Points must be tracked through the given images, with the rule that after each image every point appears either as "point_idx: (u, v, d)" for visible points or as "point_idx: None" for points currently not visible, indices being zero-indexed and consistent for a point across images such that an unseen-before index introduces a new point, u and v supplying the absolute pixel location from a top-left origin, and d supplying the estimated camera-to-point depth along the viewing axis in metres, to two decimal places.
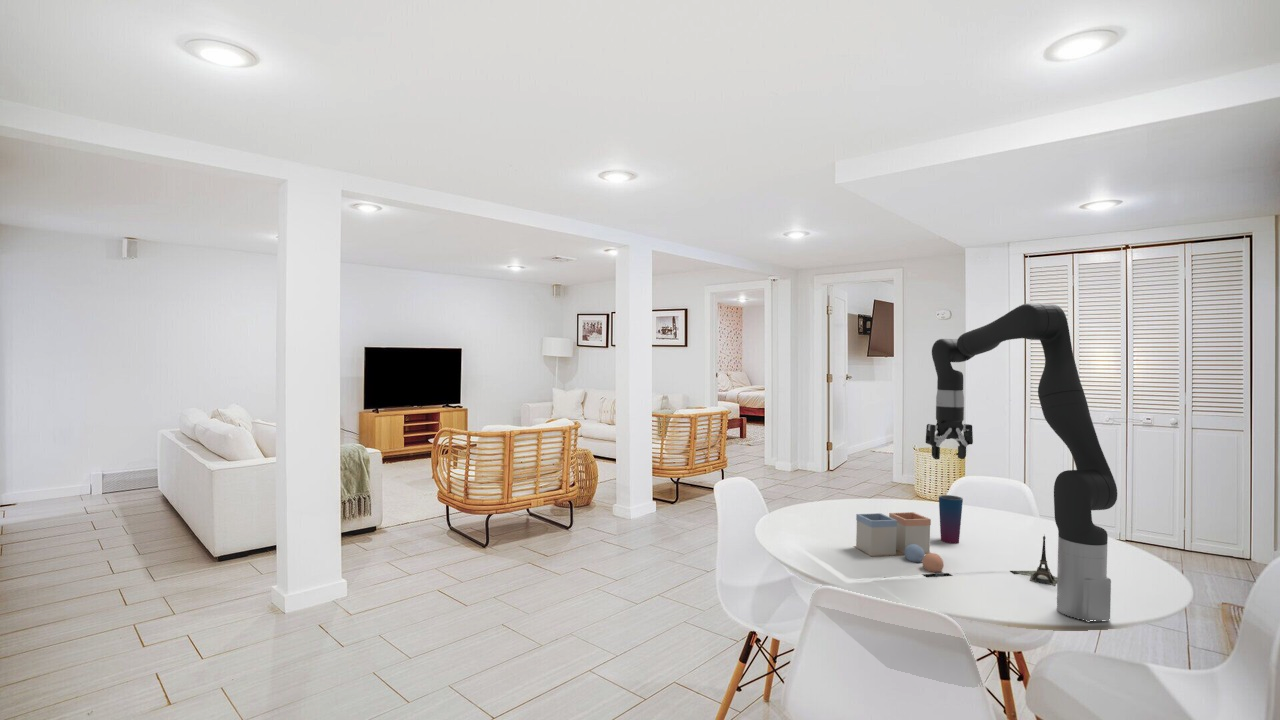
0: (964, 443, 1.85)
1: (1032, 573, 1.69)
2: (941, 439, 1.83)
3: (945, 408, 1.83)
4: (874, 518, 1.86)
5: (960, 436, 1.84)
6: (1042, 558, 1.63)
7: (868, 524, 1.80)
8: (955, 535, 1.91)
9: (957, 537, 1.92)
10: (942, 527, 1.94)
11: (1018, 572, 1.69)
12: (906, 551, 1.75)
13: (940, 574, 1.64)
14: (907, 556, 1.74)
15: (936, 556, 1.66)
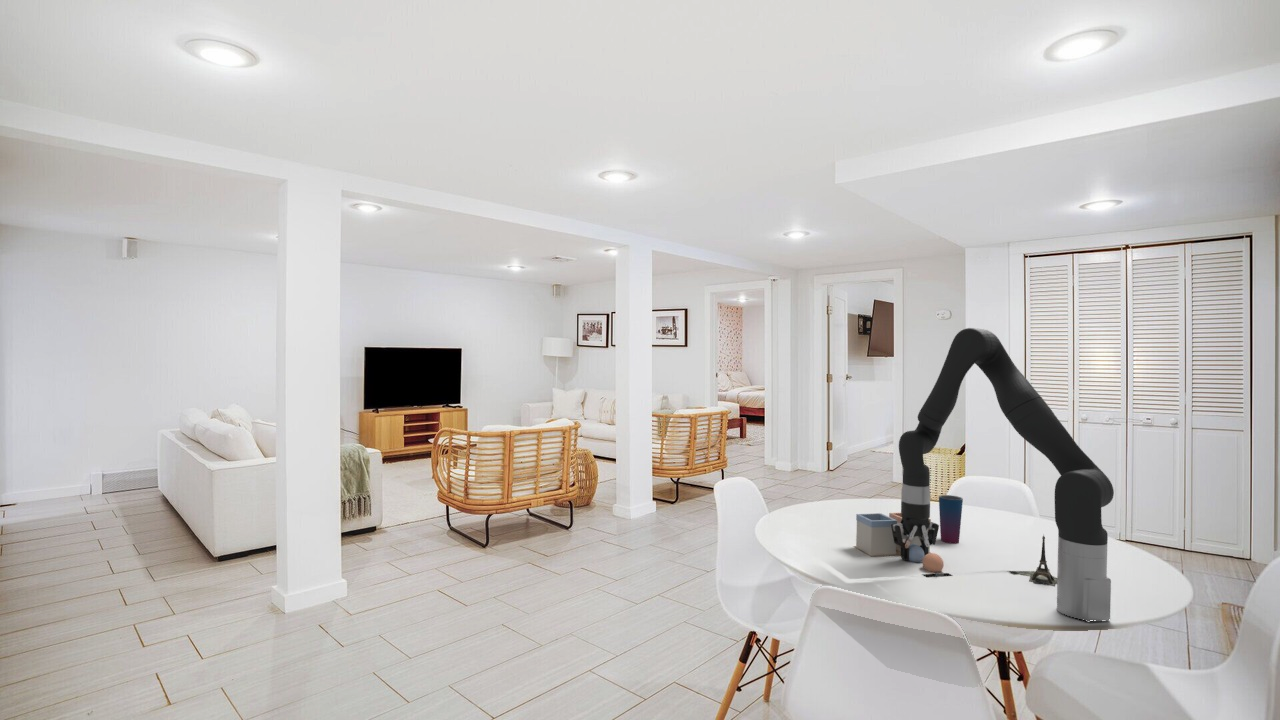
0: (926, 544, 1.74)
1: (1032, 573, 1.68)
2: (909, 539, 1.73)
3: (910, 505, 1.72)
4: (874, 518, 1.86)
5: (924, 535, 1.74)
6: (1042, 558, 1.63)
7: (868, 524, 1.80)
8: (955, 535, 1.91)
9: (957, 537, 1.92)
10: (942, 527, 1.94)
11: (1018, 572, 1.69)
12: None
13: (940, 574, 1.64)
14: None
15: (936, 556, 1.66)
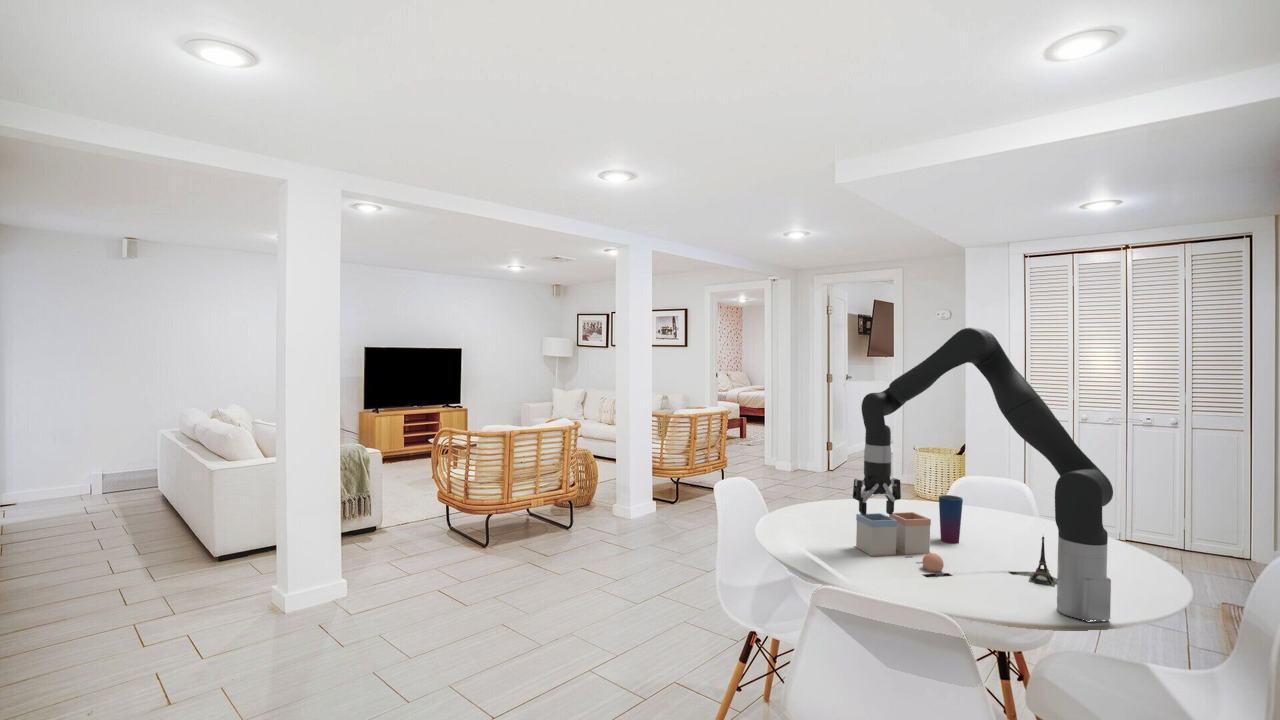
0: (892, 498, 1.82)
1: (1031, 574, 1.68)
2: (868, 495, 1.80)
3: (872, 463, 1.80)
4: (874, 518, 1.86)
5: (887, 491, 1.81)
6: (1041, 559, 1.63)
7: (868, 524, 1.80)
8: (955, 535, 1.91)
9: (957, 537, 1.92)
10: (942, 527, 1.94)
11: (1017, 573, 1.69)
12: None
13: (940, 574, 1.64)
14: None
15: (936, 556, 1.66)
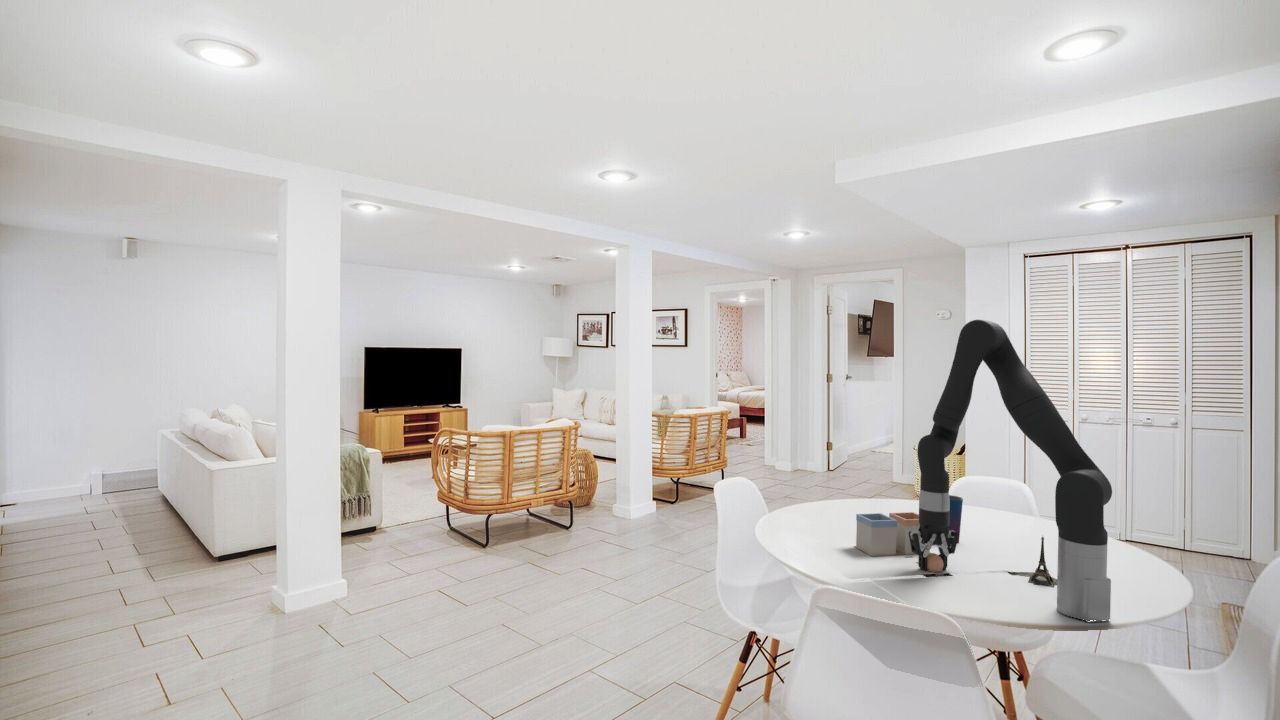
0: (945, 552, 1.67)
1: (1031, 574, 1.68)
2: (927, 548, 1.65)
3: (929, 512, 1.64)
4: (874, 518, 1.86)
5: (943, 543, 1.66)
6: (1041, 559, 1.62)
7: (868, 524, 1.80)
8: None
9: None
10: None
11: (1017, 573, 1.68)
12: None
13: (940, 574, 1.64)
14: None
15: (936, 556, 1.66)
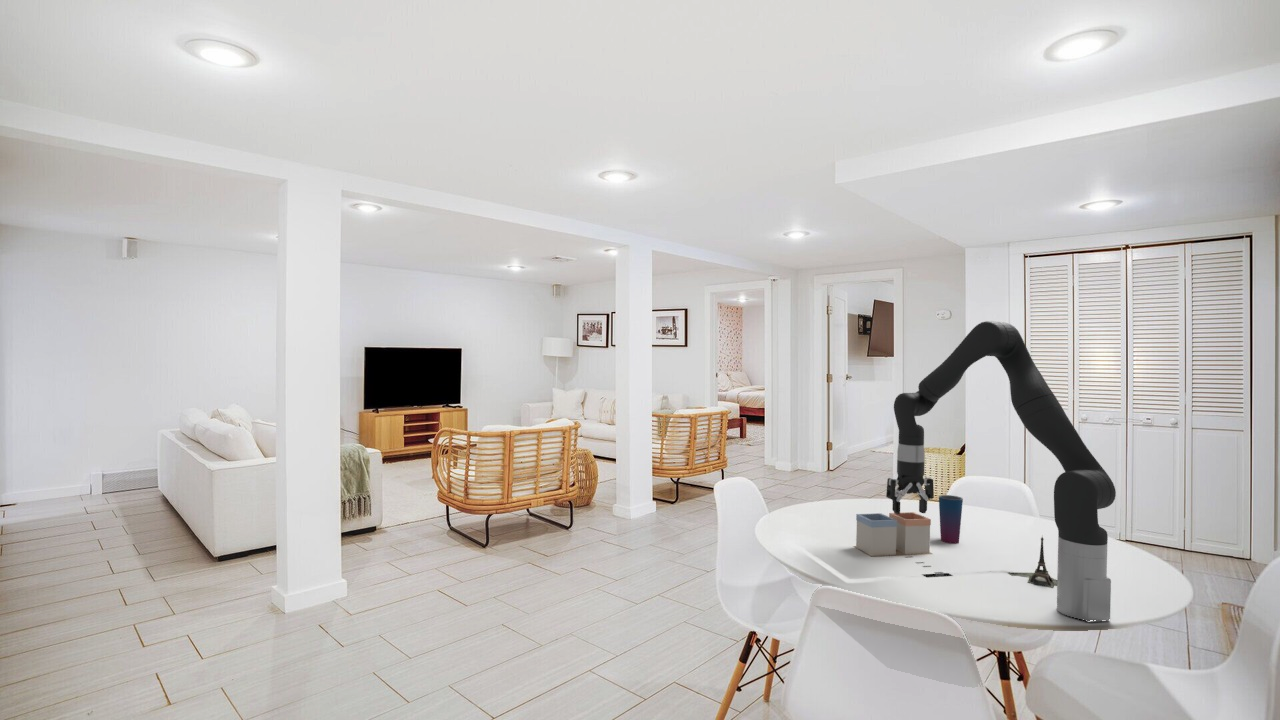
0: (925, 497, 1.84)
1: (1031, 575, 1.67)
2: (901, 494, 1.83)
3: (905, 463, 1.82)
4: (874, 518, 1.86)
5: (921, 491, 1.84)
6: (1040, 560, 1.62)
7: (868, 524, 1.80)
8: (955, 535, 1.91)
9: (957, 537, 1.92)
10: (942, 527, 1.94)
11: (1016, 574, 1.68)
12: None
13: (940, 574, 1.64)
14: None
15: None
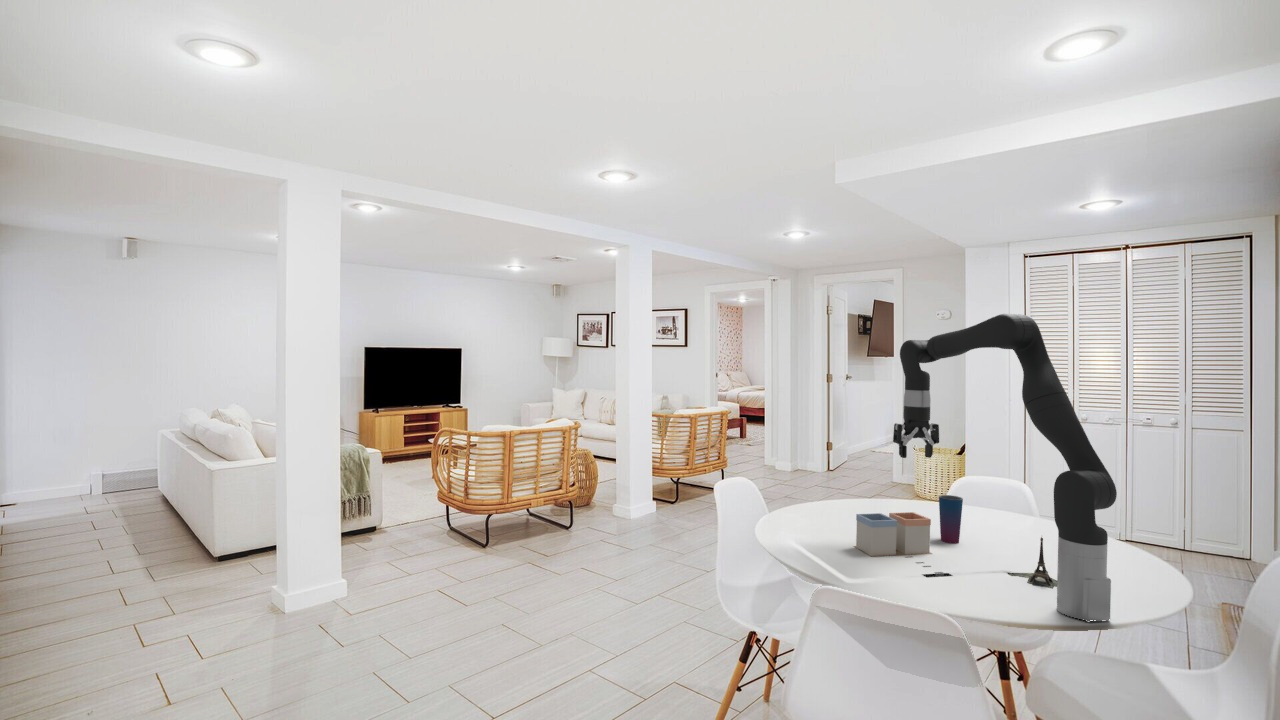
0: (931, 442, 1.89)
1: (1030, 575, 1.67)
2: (908, 438, 1.87)
3: (912, 408, 1.87)
4: (874, 518, 1.86)
5: (927, 435, 1.88)
6: (1040, 560, 1.62)
7: (868, 524, 1.80)
8: (955, 535, 1.91)
9: (957, 537, 1.92)
10: (942, 527, 1.94)
11: (1016, 574, 1.68)
12: None
13: (940, 574, 1.64)
14: None
15: None
